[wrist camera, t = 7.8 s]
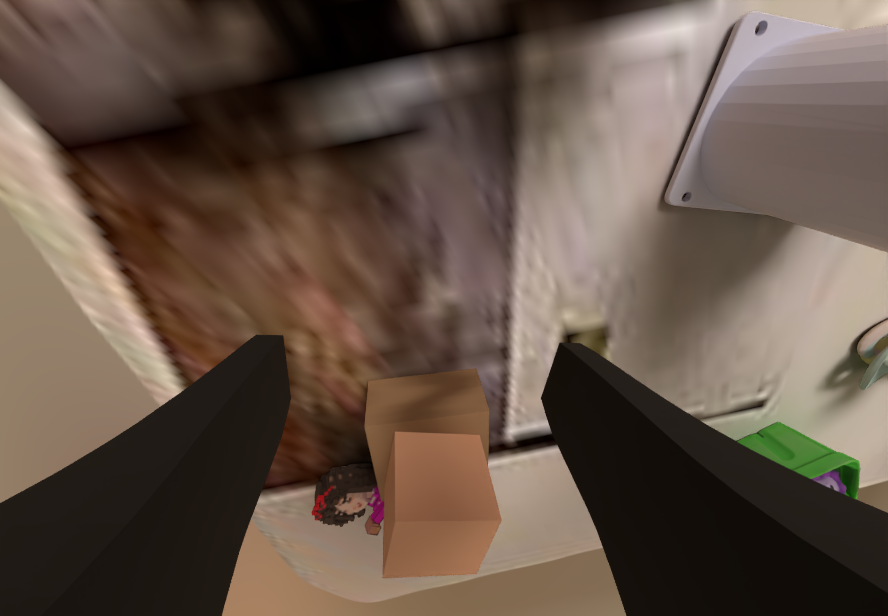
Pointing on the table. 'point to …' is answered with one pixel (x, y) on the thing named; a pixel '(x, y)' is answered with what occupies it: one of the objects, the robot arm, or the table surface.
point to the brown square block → (423, 411)
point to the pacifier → (874, 354)
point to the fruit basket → (806, 457)
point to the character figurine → (349, 496)
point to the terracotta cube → (437, 506)
